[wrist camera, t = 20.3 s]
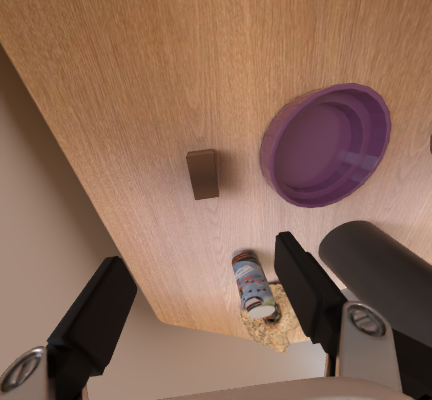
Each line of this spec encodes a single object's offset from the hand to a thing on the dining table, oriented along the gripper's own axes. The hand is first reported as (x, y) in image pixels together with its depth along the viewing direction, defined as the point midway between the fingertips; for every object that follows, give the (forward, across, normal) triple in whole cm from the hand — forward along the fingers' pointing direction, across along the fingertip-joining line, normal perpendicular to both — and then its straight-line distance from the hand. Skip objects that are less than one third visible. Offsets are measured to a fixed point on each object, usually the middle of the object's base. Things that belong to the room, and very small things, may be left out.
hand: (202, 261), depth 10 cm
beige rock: (+20, -11, +40) cm, 46 cm away
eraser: (+20, 0, 0) cm, 20 cm away
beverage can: (+20, -6, +23) cm, 31 cm away
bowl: (+20, -18, -1) cm, 27 cm away
